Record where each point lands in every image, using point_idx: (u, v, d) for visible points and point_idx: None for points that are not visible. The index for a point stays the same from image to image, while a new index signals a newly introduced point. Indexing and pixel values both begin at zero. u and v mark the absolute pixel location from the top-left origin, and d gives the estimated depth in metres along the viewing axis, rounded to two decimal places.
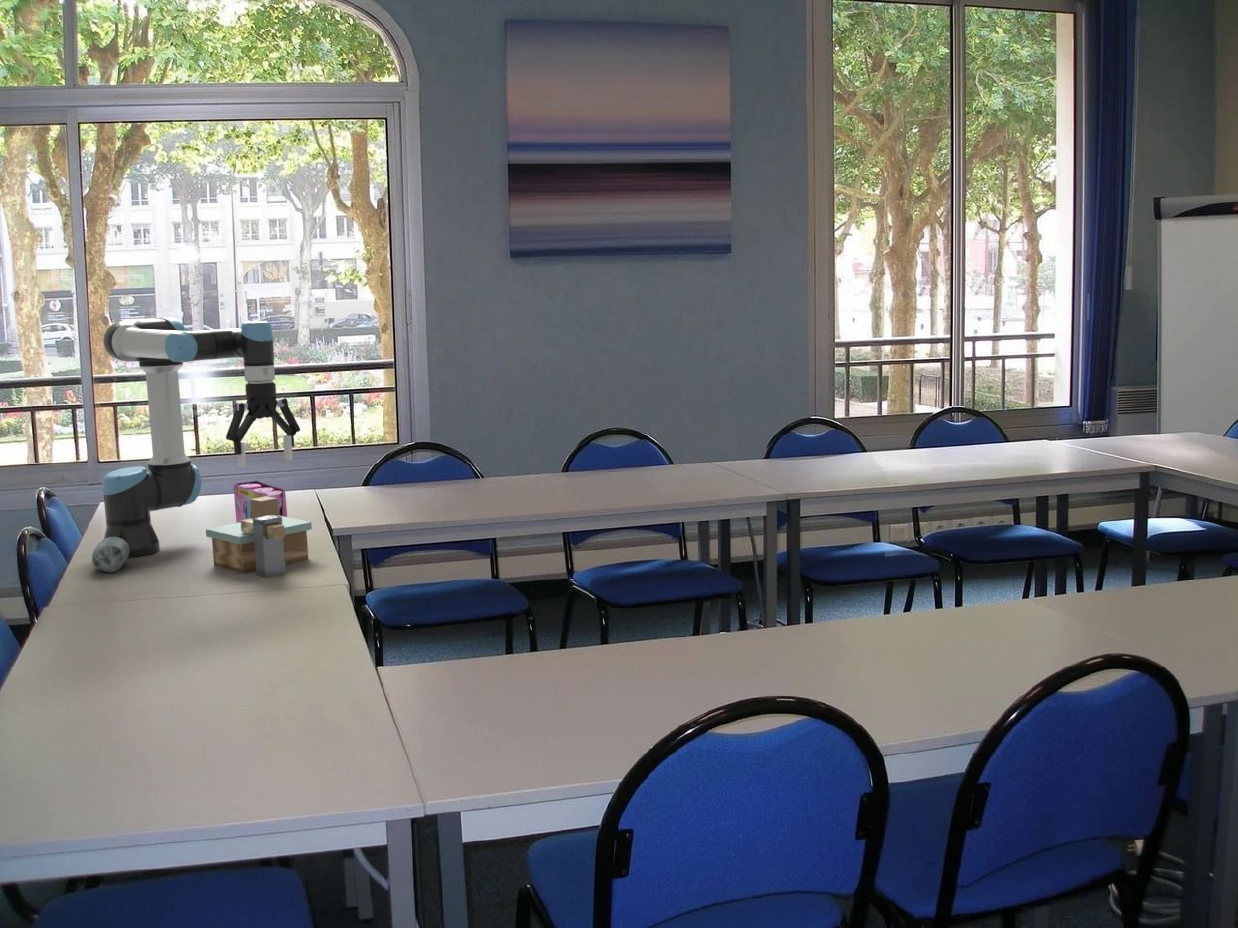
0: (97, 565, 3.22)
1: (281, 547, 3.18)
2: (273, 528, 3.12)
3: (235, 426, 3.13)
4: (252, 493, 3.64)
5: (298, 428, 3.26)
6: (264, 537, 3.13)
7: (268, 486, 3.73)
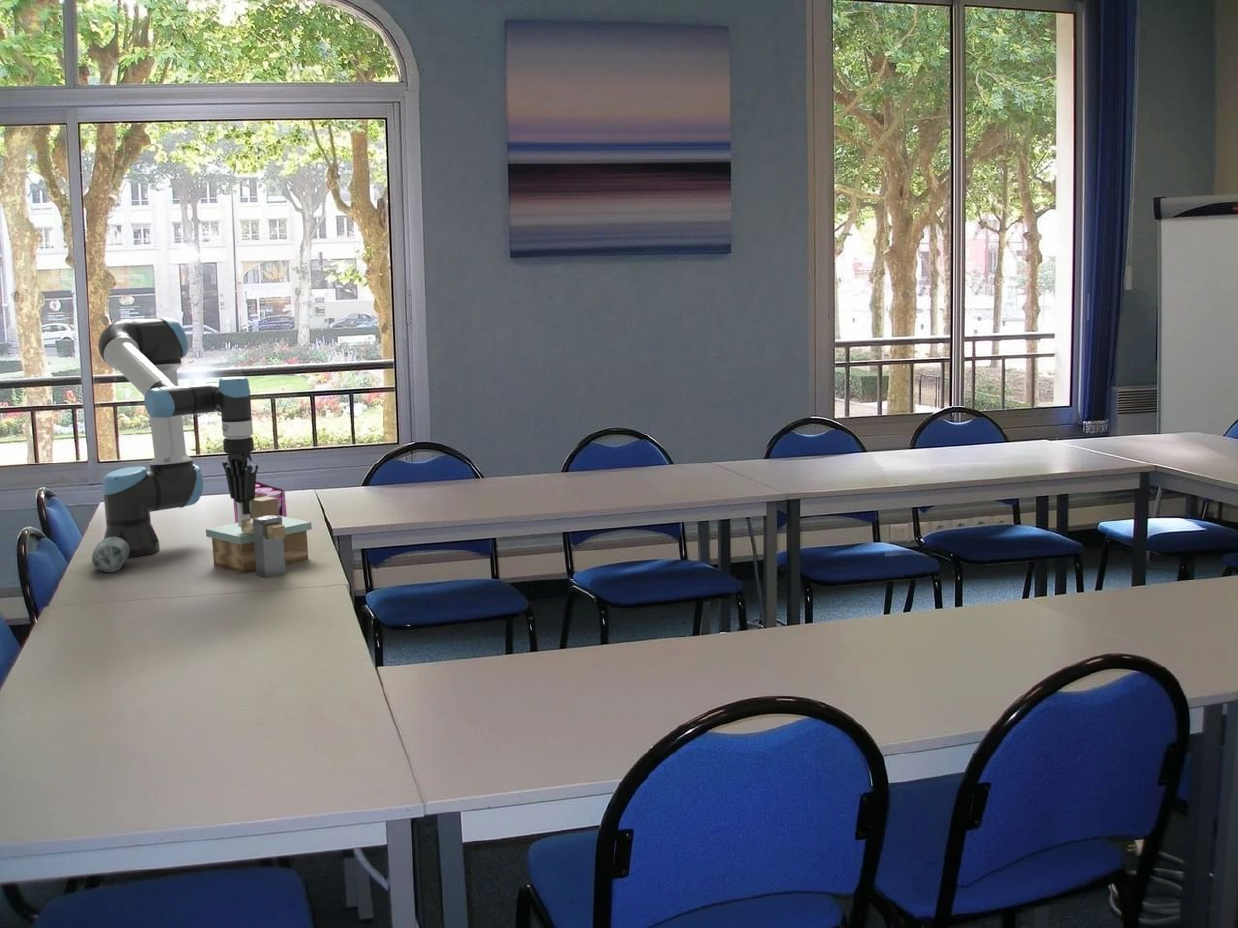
0: (97, 565, 3.22)
1: (281, 547, 3.18)
2: (273, 528, 3.12)
3: (228, 485, 3.23)
4: None
5: (245, 498, 3.19)
6: (264, 537, 3.13)
7: (267, 486, 3.73)
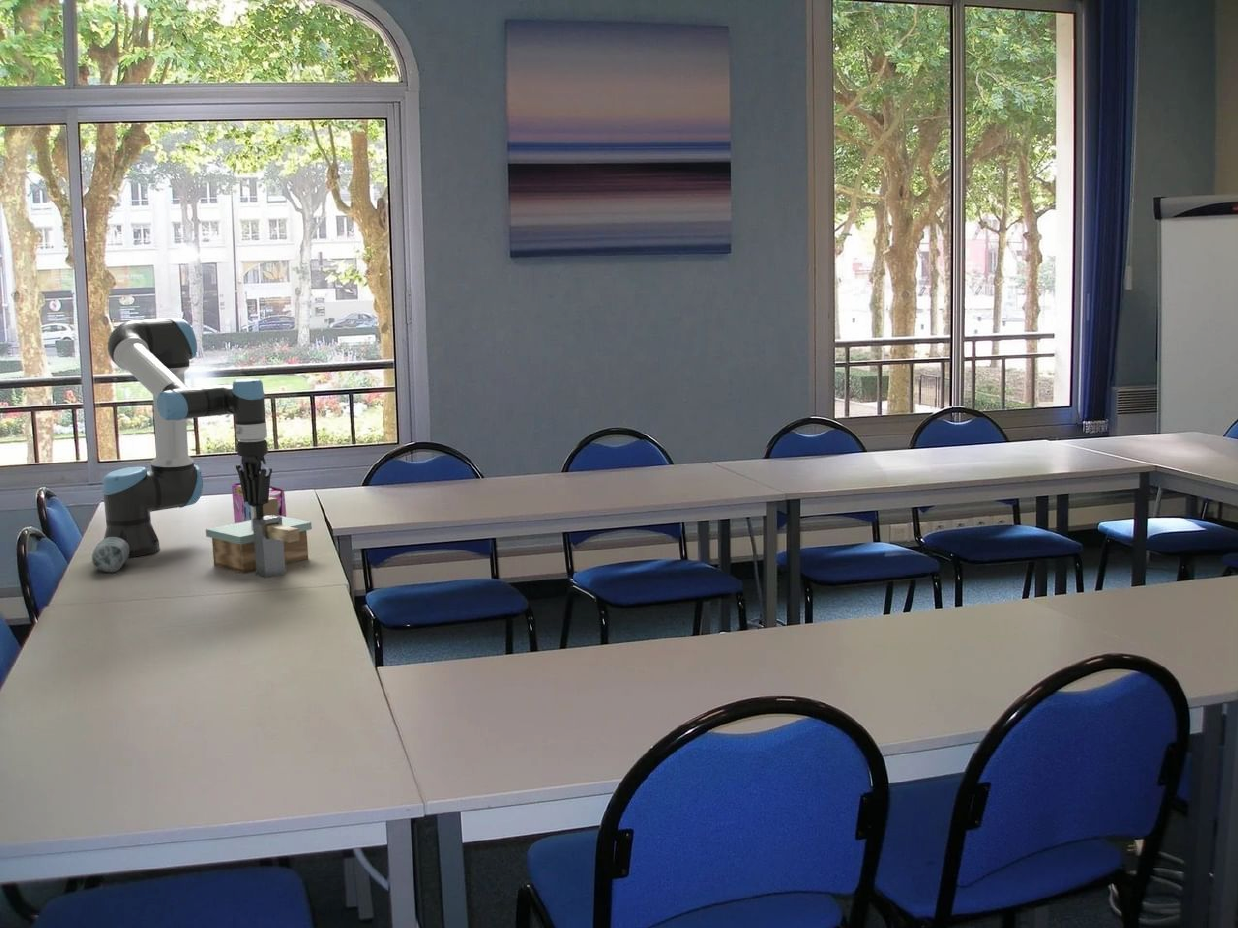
0: (97, 565, 3.22)
1: (281, 547, 3.18)
2: (288, 531, 3.08)
3: (242, 488, 3.19)
4: None
5: (259, 501, 3.15)
6: (264, 537, 3.13)
7: None
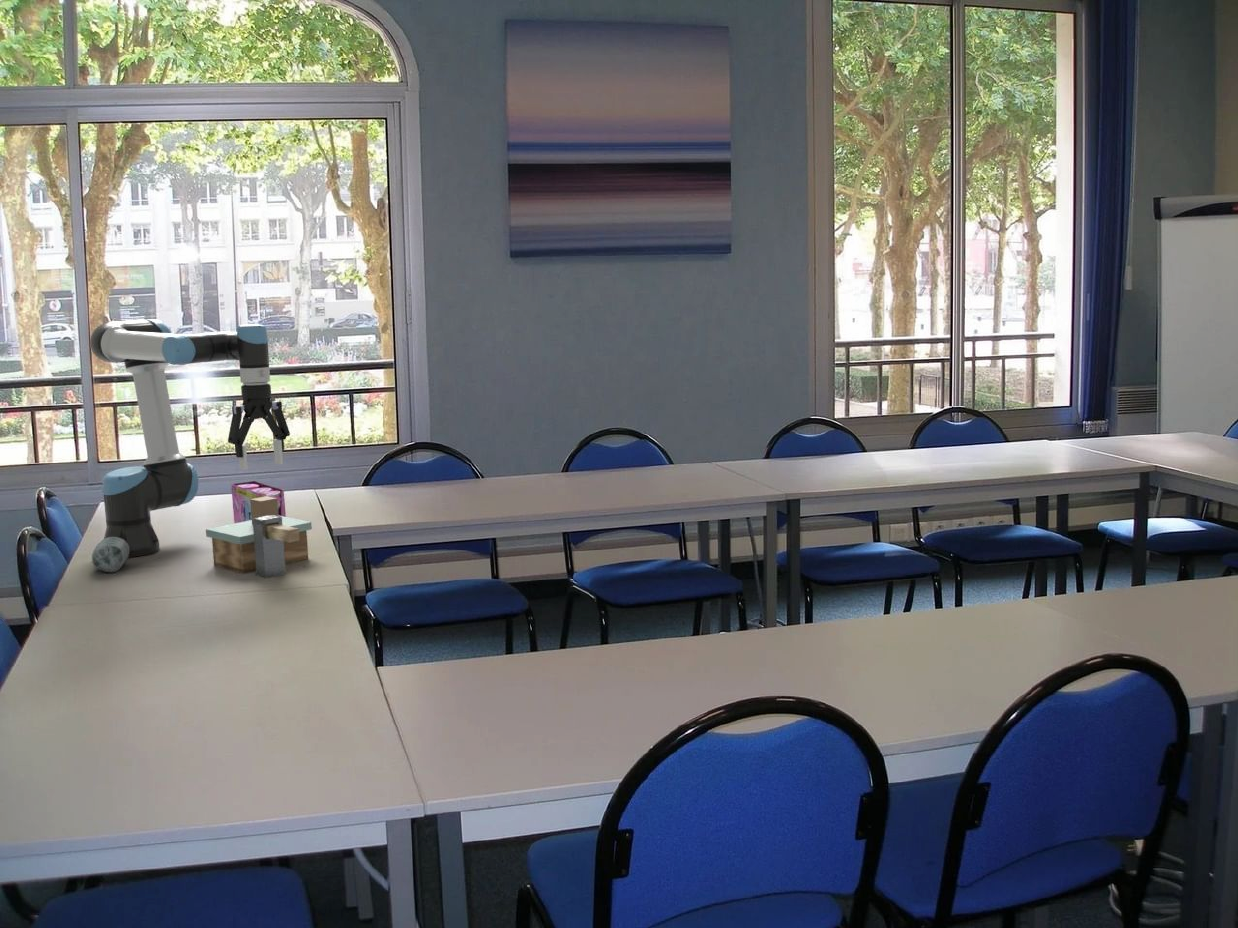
0: (97, 565, 3.22)
1: (281, 547, 3.18)
2: (288, 531, 3.08)
3: (235, 429, 3.21)
4: (250, 494, 3.64)
5: (288, 432, 3.34)
6: (264, 537, 3.13)
7: (266, 486, 3.73)
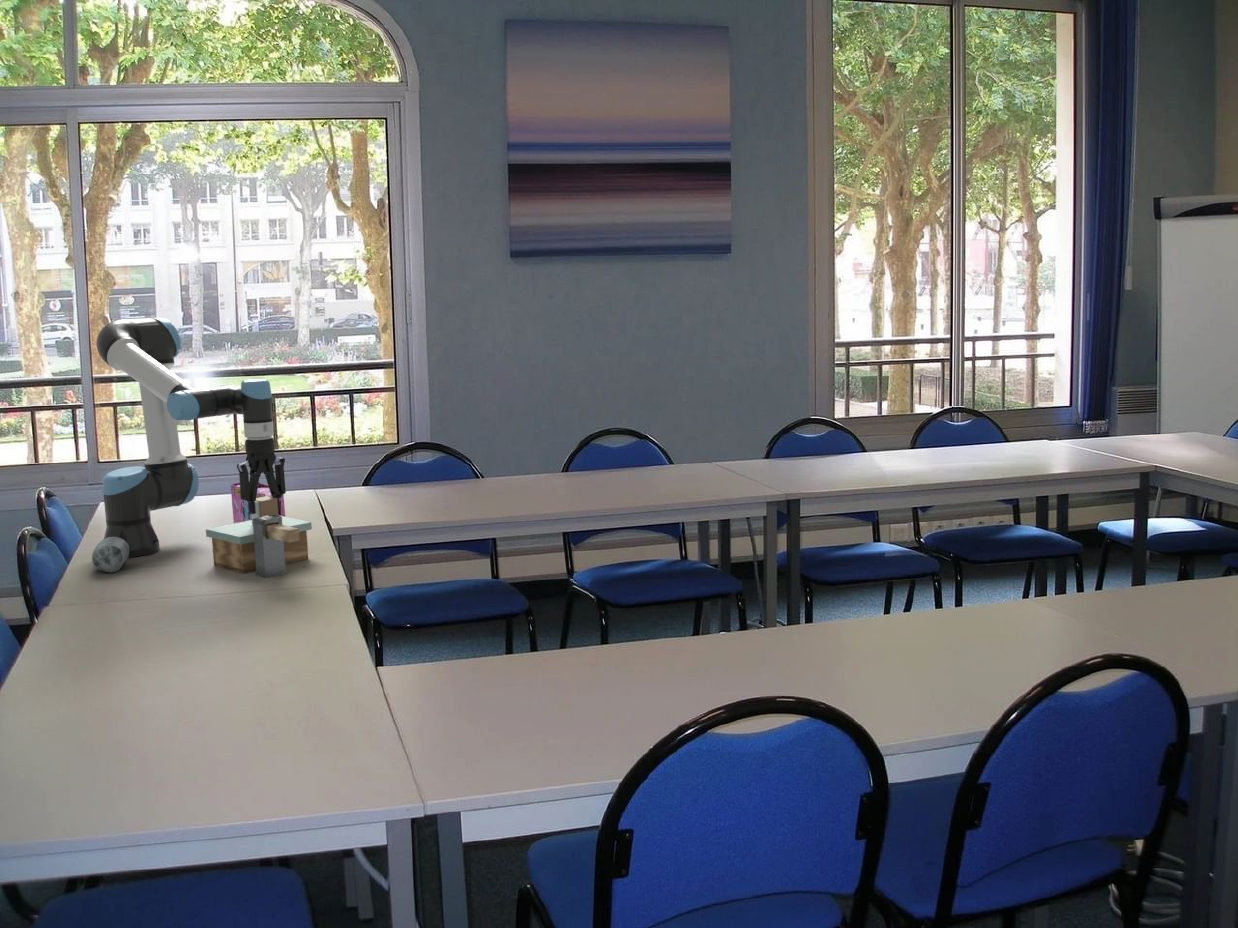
0: (97, 565, 3.22)
1: (281, 547, 3.18)
2: (288, 531, 3.08)
3: (245, 487, 3.25)
4: None
5: (284, 491, 3.34)
6: (264, 537, 3.13)
7: (265, 486, 3.73)
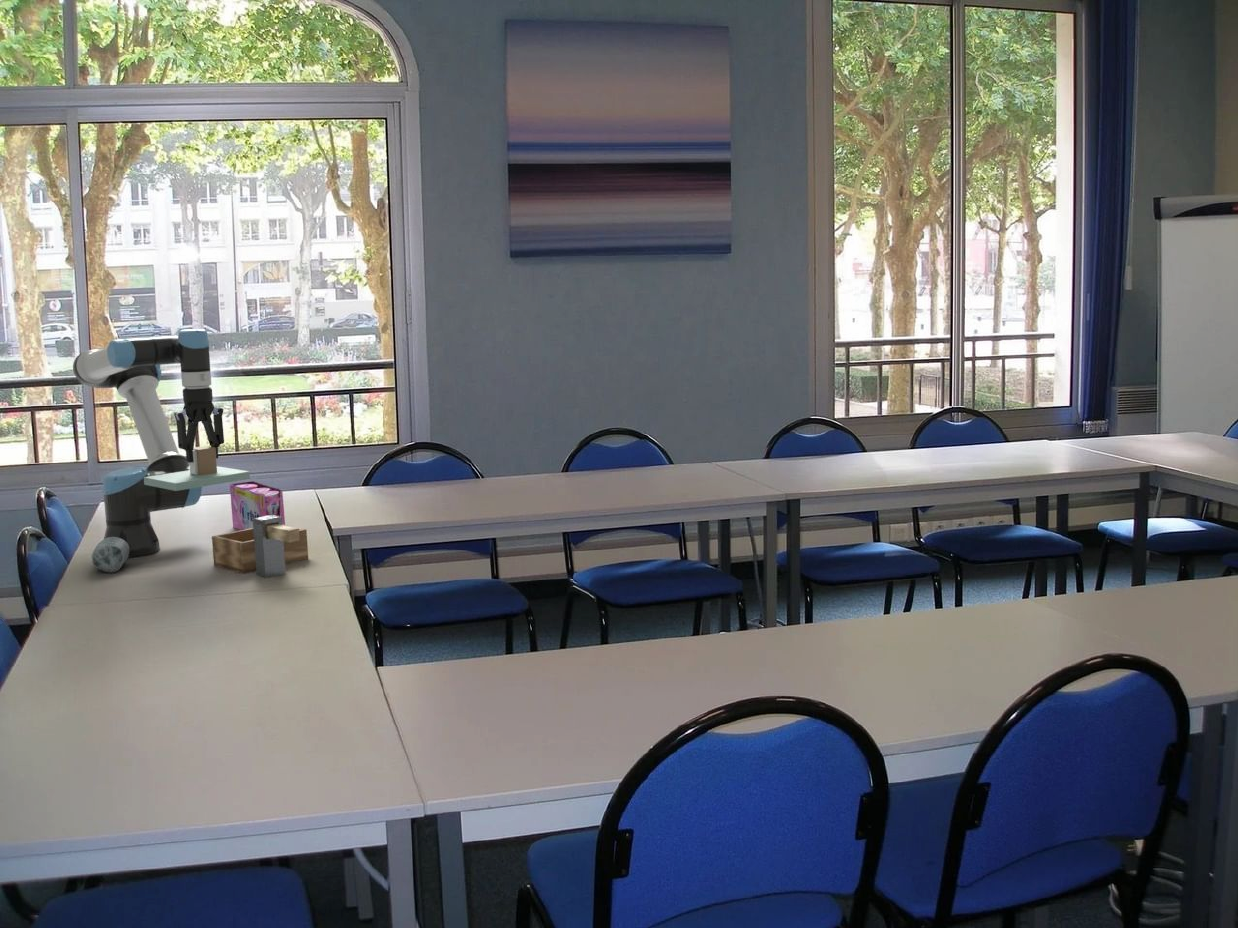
0: (97, 565, 3.22)
1: (281, 547, 3.18)
2: (288, 531, 3.08)
3: (182, 436, 3.28)
4: (249, 494, 3.64)
5: (222, 440, 3.38)
6: (264, 537, 3.13)
7: (265, 486, 3.73)
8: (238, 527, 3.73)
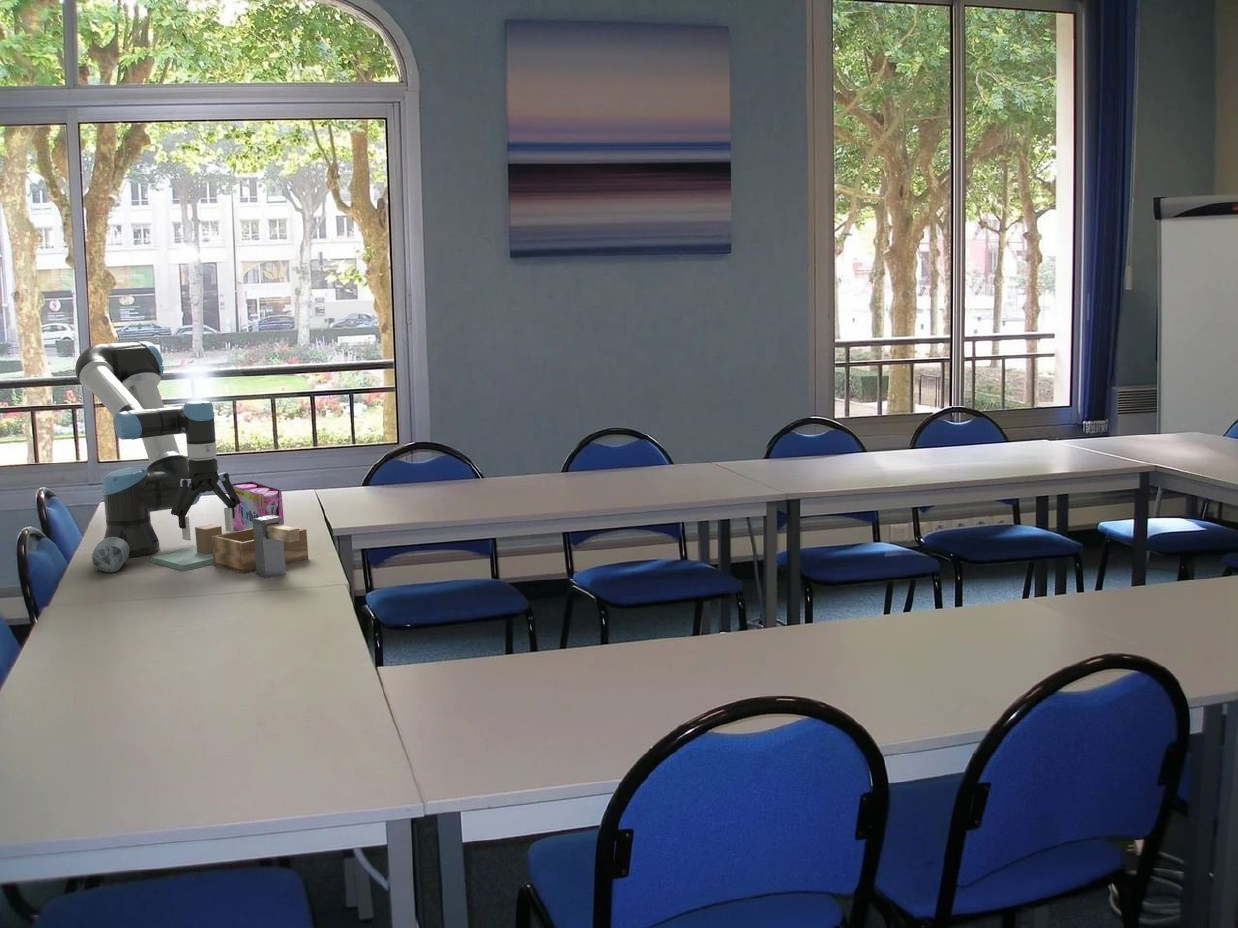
0: (97, 565, 3.22)
1: (281, 547, 3.18)
2: (288, 531, 3.08)
3: (179, 502, 3.30)
4: (248, 494, 3.63)
5: (238, 501, 3.43)
6: (264, 537, 3.13)
7: (264, 486, 3.72)
8: (237, 527, 3.73)
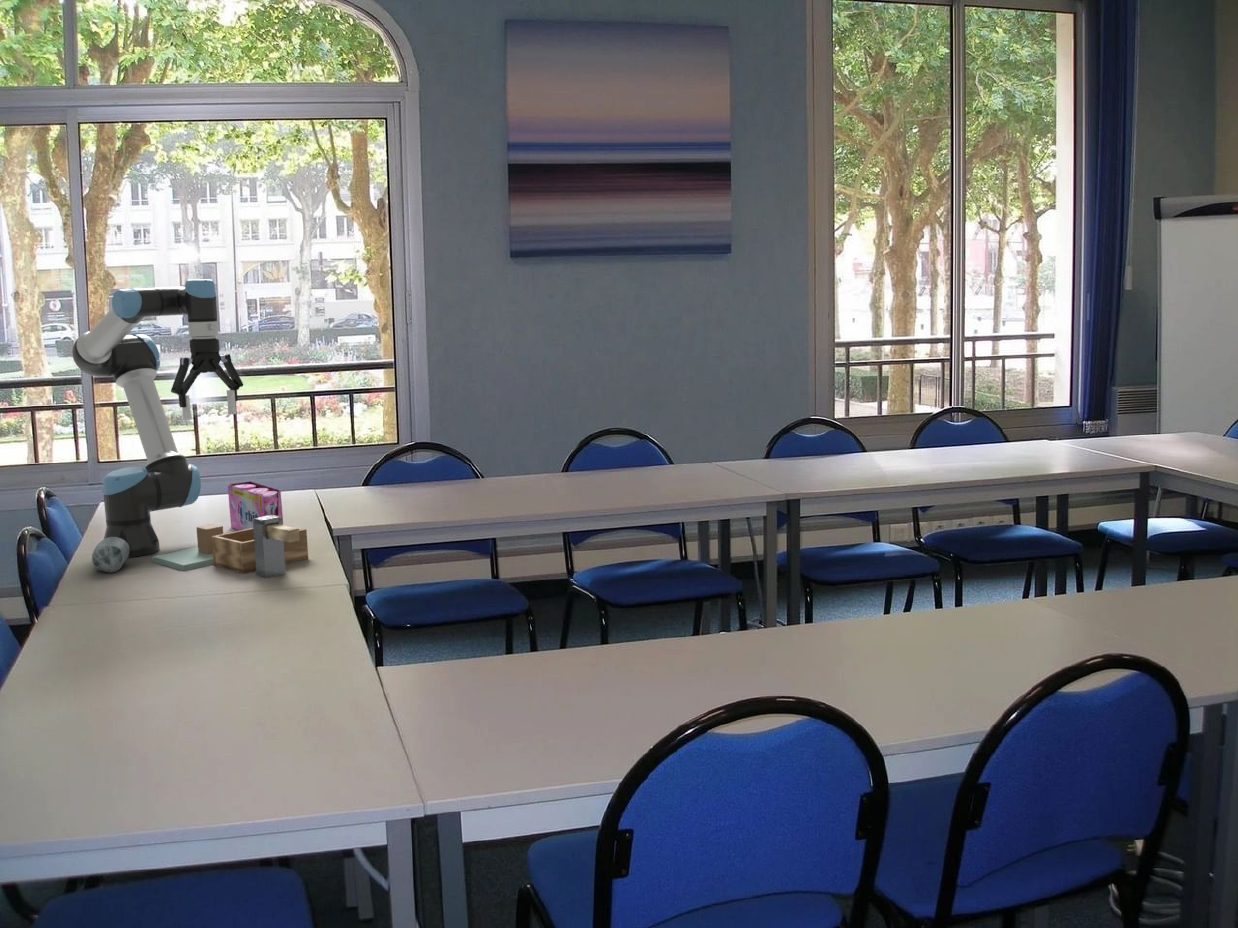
0: (97, 565, 3.22)
1: (281, 547, 3.18)
2: (288, 531, 3.08)
3: (180, 380, 3.24)
4: (247, 494, 3.63)
5: (241, 383, 3.38)
6: (264, 537, 3.13)
7: (263, 486, 3.72)
8: (236, 527, 3.73)
